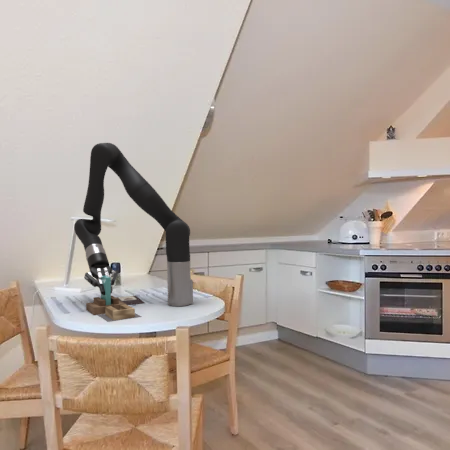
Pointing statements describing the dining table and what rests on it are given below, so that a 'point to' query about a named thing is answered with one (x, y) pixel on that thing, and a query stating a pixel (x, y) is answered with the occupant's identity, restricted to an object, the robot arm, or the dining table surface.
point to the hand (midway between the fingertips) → (107, 293)
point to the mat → (115, 320)
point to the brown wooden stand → (102, 305)
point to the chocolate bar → (131, 300)
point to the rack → (120, 312)
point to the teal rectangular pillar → (107, 290)
